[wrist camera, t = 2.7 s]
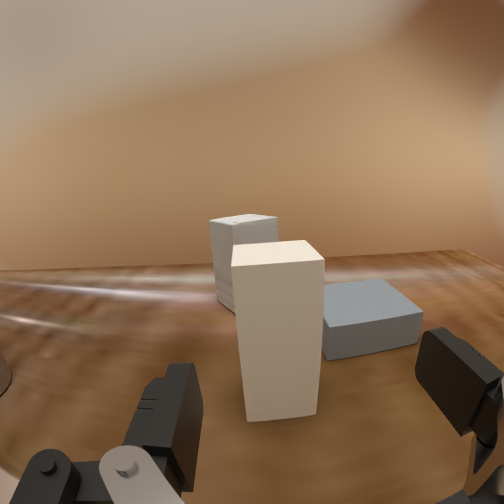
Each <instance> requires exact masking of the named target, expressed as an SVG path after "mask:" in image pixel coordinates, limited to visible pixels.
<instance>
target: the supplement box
mask: <svg viewBox="0 0 504 504" xmlns="http://www.w3.org/2000/svg"><path fill="white" fill-rule="evenodd" d="M209 225H210V236H211V246H212V255H213V265H214V274H215V283H216V293H217V300H218V301H219V302H220V303H222V304H223V305H224V306H226V307H227V308H228V309H230V310H231V311H232V312H234V313H235V304H234V293H233V282H232V271H231V263H232V253H233V245H241V244H256V243H270V242H279V233H278V218H277V217H270V216H262V215H255V214H246V215H239V216H232V217H225V218H219V219H213V220H210V221H209Z"/></svg>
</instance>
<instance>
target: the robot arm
mask: <svg viewBox="0 0 504 504" xmlns="http://www.w3.org/2000/svg"><path fill="white" fill-rule="evenodd" d="M415 374H416V378H417V380H418V382H419V383H420V384H421V386H422V387H423V388H424V389H425V391H426V392H427V393H428V394H429V396H430V397H431V398H432V400H433V401H434V402H435V403H436V405H437V406H438V407H439V409H440V410H441V411H442V412H443V414H444V415H445V416H446V418H447V419H448V420H449V422H450V423H451V424H452V426H453V427H454V428H455V430H456V431H457V432H458V434H459V435H460V436H463V435H465V434H467V433H469V432H471V431H474V433H475V434H474V435H473V437H472V440H471V449H470V458H469V466H468V473H467V479H466V482H465V485H464V487H463V489H462V490H461V491H459V492H457V493H455V494H453V495H452V496H450V497H448V498H446V499H444V500H442V501H440V502H438V503H436V504H504V373H503V372H501V371H500V370H499V369H498V368H497V367H496V366H495V365H493V364H492V363H491V362H490V361H489V360H488V359H486V358H485V357H484V356H483V355H482V356H481V353H479V352H478V351H477V350H474V348H473V347H472V346H471V345H470V344H469V343H467V342H466V341H464V340H462V339H460V338H457V337H456V336H454V335H453V334H452V333H451V332H450V331H448V330H447V329H446V328H444V327H440V328H436V329H432V330H429V331H426V332H424V334H423V336H422V340H421V344H420V349H419V353H418V357H417V362H416V366H415ZM10 381H11V371H10V368H9V366H8V364H7V362H6V360H5V358H4V355H3V353H2V351H1V348H0V395H1V394H2V393H3V392H4V391H5V389H6V388H7V387H8V385H9V383H10ZM202 418H203V400H202V395H201V391H200V387H199V382H198V378H197V374H196V369H195V366H194V363H170V364H169V366H168V369H167V371H166V374H165V377H164V378H154V379H153V380H152V381H151V382H150V383H149V384H148V385H147V386H146V387H145V389H144V392H143V394H142V397H141V401H139V404H138V406H137V410H136V411H135V414H134V416H133V419H132V421H131V424H130V426H129V429H128V431H127V434H126V436H125V439H124V442H123V444H122V446H119V447H116V448H113V449H111V450H110V451H108V452H107V453H106V454H105V455H104V456H103V457H102V459H101V460H100V461H90V462H71V461H70V459H69V458H68V457H67V456H66V455H65V454H64V453H63V452H61V451H59V450H55V449H46V450H42V451H40V452H38V453H36V454H35V455H34V456H33V457H32V458H31V460H30V461H29V463H28V465H27V467H26V469H25V471H24V473H23V475H22V477H21V479H20V481H19V484H18V486H17V488H16V490H15V492H14V495H13V497H12V499H11V501H10V503H9V504H185V503H184V502H183V501H182V500H181V493H182V492H193V487H194V479H195V471H196V463H197V455H198V448H199V440H200V433H201V425H202Z"/></svg>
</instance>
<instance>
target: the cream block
mask: <svg viewBox="0 0 504 504" xmlns="http://www.w3.org/2000/svg"><path fill="white" fill-rule="evenodd" d="M324 269H325V259H324V258H323V257H321V255H320V254H318V253H317V252H316V251H315V249H314V248H312V247H311V246H310V245H309V244H308V243H307V242H306V241H305V240H300V241H285V242H270V243H256V244H241V245H233V253H232V263H231V271H232V282H233V293H234V304H235V314H236V325H237V334H238V344H239V354H240V363H241V372H242V382H243V390H244V399H245V408H246V416H247V422H255V421H268V420H279V419H288V418H296V417H304V416H311V415H316V409H317V399H318V389H319V377H320V364H321V350H322V333H323V311H324Z"/></svg>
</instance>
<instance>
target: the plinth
mask: <svg viewBox="0 0 504 504" xmlns="http://www.w3.org/2000/svg"><path fill="white" fill-rule="evenodd" d="M423 312H424V311H422V310H421V309H420V308H419V307H417V306H416V305H415V304H414V303H412V302H411V301H410V300H409V299H407V298H406V297H405V296H404V295H402V294H401V293H400V292H399V291H397V290H396V289H395V288H394V287H392V286H391V285H390V284H388V283H387V282H386V281H384V280H383V279H382V278H381V279H372V280H363V281H354V282H345V283H335V284H325V285H324V311H323V333H322V351H323V353H324V355H325V357H326V360H327V361H329V360H336V359H342V358H348V357H354V356H359V355H365V354H370V353H375V352H380V351H385V350H389V349H394V348H398V347H403V346H407V345H411V344H415V343H417V342H418V337H419V333H420V328H421V323H422V318H423Z"/></svg>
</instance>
